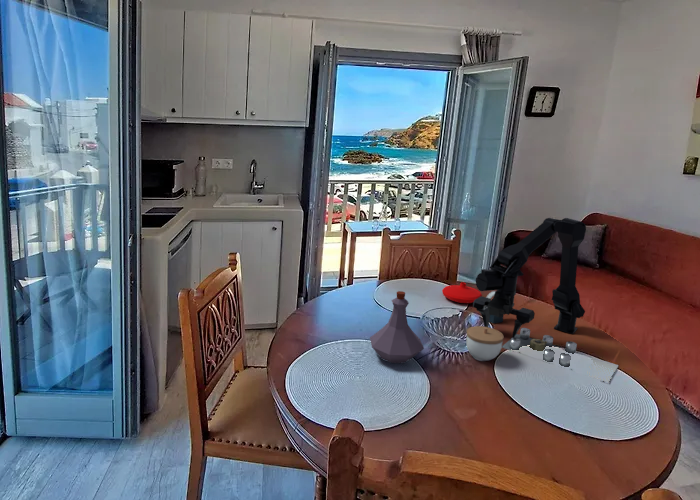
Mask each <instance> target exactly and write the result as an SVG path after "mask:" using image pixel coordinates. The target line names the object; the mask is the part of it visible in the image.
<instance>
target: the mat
mask: <svg viewBox="0 0 700 500" xmlns="http://www.w3.org/2000/svg"><path fill="white" fill-rule="evenodd" d="M514 338H518V339H520V340H521V342H520V347H522V346H527V345H530V341H531V340H532V339H533V338H532V337H529V340H523V339H521V338H520V333H519V334H518V333H517V334H516V335H515V337H514ZM510 340H511V338H510V339H509V340H508V341H506V342H505V343H504V344H502V347H501V349H505V350H508V351H511V349H510V348H509V346H510ZM552 346H554V347H559V348H562V347H561V346H557V345H554V344H552ZM591 357H592V359H591V360H593V363H594V365H595V366H596V364H597V366H598V365H599V366H601V367H602V365H603V367H604V369H606V368H607V369H606V370H608V372H609V369H610V371H611V370H613V372H615V373H616V372H617V369H618V368H619V364H615V363H612V362H609V361H606V360H603V359H599V358H596V357H593V356H591ZM595 362H596V364H595ZM591 365H592V364H591ZM592 366H593V365H592ZM599 366H598V368H600V367H599ZM603 367H602V368H603ZM605 367H606V368H605ZM589 368H590V366H589ZM592 368H593V367H592ZM598 368H597V367H596V370H597V369H598ZM608 368H609V369H608ZM611 368H612V369H611ZM593 369H594V368H593ZM600 369H601V368H600ZM600 369H598V370H600ZM590 370H591V368H590ZM598 370H597V371H598ZM606 370H605V371H606ZM602 371H603V369H602ZM600 372H601V371H600ZM603 372H604V371H603ZM611 372H612V371H611ZM606 373H607V372H606ZM587 374H588V371H587ZM598 374H599V372H598ZM604 374H605V373H604ZM609 374H610V372H609ZM607 375H608V374H607ZM598 376H599V375H598ZM598 376H597V377H596V375H595V376H594V377H593V375H592V376H590V372H589V376H588V377H590V378H593V379H597V380H599V379H600V380H599V381H601V380H602V379H601V377H600V378H598ZM610 376H611V375H610ZM610 376H608V378H609V380H608V378H607V376H606V381H607V382H608V383H610V382H611V380H612V378H613V377H611V378H610ZM595 377H596V378H595ZM610 379H611V380H610ZM603 381H605V379H604V378H603ZM606 381H605V382H606ZM609 381H610V382H609Z"/></svg>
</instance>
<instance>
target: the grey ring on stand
mask: <svg viewBox="0 0 700 500" xmlns="http://www.w3.org/2000/svg"><path fill="white" fill-rule="evenodd" d="M496 291H497V290H492V291H491V292H490V291H489V293H488V294H487V295H486V296H485V297H486V298H490V299H491V300H492V299H493V297H494V294H495V292H496ZM503 321H504V315H503V317H497V316H494V315H490V319H489V323H491V324H499V323H501V324H502V323H503Z"/></svg>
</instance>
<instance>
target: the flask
mask: <svg viewBox="0 0 700 500" xmlns="http://www.w3.org/2000/svg"><path fill="white" fill-rule="evenodd" d="M405 297H406V292H405V291H402V290H400V291H399V290H398V291H396V297H395V298H393V299H391V302H392V305H393V308H392V312H391V314H390V318H389V319H388V322H387V323H386V324H385V325H384V326H383V327H382V328H380V329H379V330H378V331H377V332H375V333H374V334H373V335H371V336H370V337H369V340H370V344H371V348H372V349H373V350H374V352H375V353H376V354H377V355H378V356H379V358H380V359H381V358H382V359H381V360H383V359H384V361H386V362H387V363H390V362H391V363H390V364H405V363H407V362H409V361H410V359H411V360H412V359H413V358H414V357H416V356H417V355H418V354H419V353H421V352H422V351H423V350H424V349H425V348H424V344H423V343H422V341H421V339H420V338H419V336H418V335H417V334H416V333H415V331H413V329H412V328H411V327H410V326H409V324H408V317H407V307H408V306H409V303H410V302H409V301H408V300H407V299H406V298H405Z"/></svg>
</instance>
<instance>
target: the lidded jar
mask: <svg viewBox="0 0 700 500" xmlns="http://www.w3.org/2000/svg"><path fill="white" fill-rule="evenodd" d="M504 338H505V337H504V334H503V333H502V332H501V331H499V330H498V329H496V328H493V327H489V326H488V327H485V326H482V325H481V326H480V325H474V326H470V327H468V328H467V329H466V343H465V344H466V348H467V350H468V351H467V352H469V354H470V355H471V356H472V358H473V359H475V360H477V361H479V362H486V361H491V360H493V359H495V358H496V357H497V356H499V354H500V352H501V350H502V346H503V343H504V340H505V339H504Z"/></svg>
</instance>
